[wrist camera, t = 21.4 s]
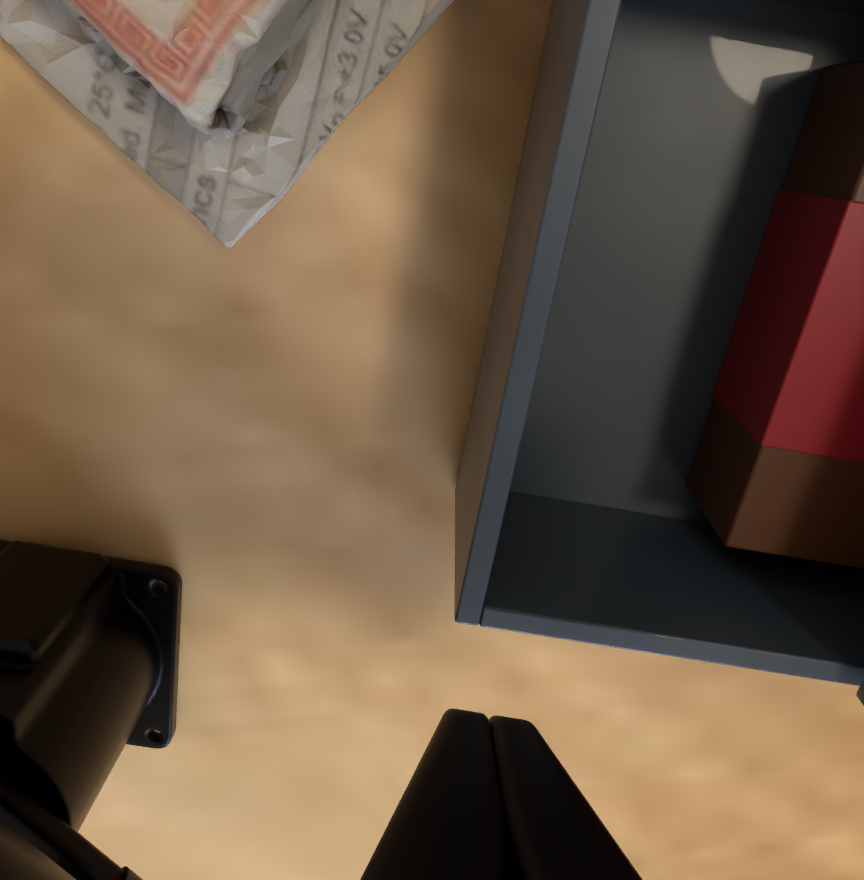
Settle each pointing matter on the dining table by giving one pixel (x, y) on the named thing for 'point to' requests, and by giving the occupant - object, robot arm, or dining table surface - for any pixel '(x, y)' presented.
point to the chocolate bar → (798, 357)
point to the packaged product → (217, 84)
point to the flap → (861, 692)
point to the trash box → (642, 339)
